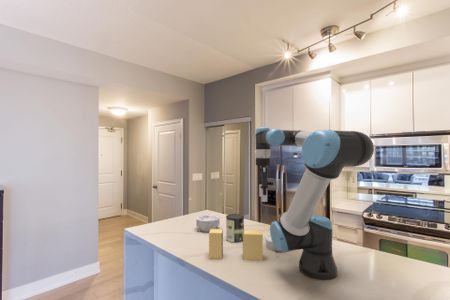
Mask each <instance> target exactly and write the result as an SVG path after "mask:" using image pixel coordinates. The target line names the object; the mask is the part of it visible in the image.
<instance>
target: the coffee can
mask: <svg viewBox="0 0 450 300" xmlns="http://www.w3.org/2000/svg"><path fill="white" fill-rule="evenodd" d="M225 218H226V220H225V221H226V223H225V224H226V227H225V228H226V230H225V231H226V232H225V233H226V240H225V241H226V242H229V243H232V244H233V243H235V244H236V243H238V244H239V243H241V242H242V243H243V230H245V219H244V218H245V216H244V215H243V214H239V213H232V214H231V213H229V214H227V215H226V216H225Z"/></svg>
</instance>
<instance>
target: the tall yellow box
mask: <svg viewBox="0 0 450 300" xmlns="http://www.w3.org/2000/svg"><path fill="white" fill-rule="evenodd" d="M263 241H264V239H263V231H262V230H245V229H244V230H243V241H242V260H244V261H245V260H247V261H248V260H249V261H263V259H264V258H263V256H264V253H263V250H264V247H263V244H264V243H263Z"/></svg>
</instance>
